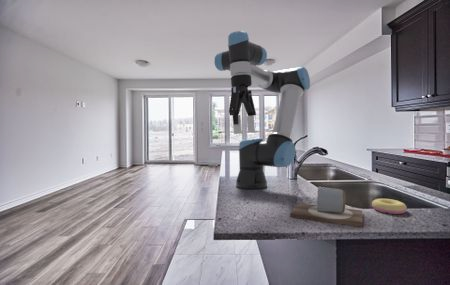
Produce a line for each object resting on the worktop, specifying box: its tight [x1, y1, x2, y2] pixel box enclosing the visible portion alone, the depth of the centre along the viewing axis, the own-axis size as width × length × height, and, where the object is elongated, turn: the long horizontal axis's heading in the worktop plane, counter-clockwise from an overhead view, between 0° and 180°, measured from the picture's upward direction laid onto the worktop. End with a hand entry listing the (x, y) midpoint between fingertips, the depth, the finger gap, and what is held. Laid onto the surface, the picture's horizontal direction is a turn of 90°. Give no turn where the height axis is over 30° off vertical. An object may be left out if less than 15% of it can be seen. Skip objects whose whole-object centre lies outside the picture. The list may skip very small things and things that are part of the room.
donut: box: [371, 198, 408, 215], centre depth 85 cm, size 10×5×9 cm
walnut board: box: [289, 203, 364, 228], centre depth 81 cm, size 13×20×1 cm, turn 63°
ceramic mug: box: [316, 186, 347, 213], centre depth 82 cm, size 11×8×8 cm
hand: (245, 133), depth 96 cm, fingers open, 13 cm apart
